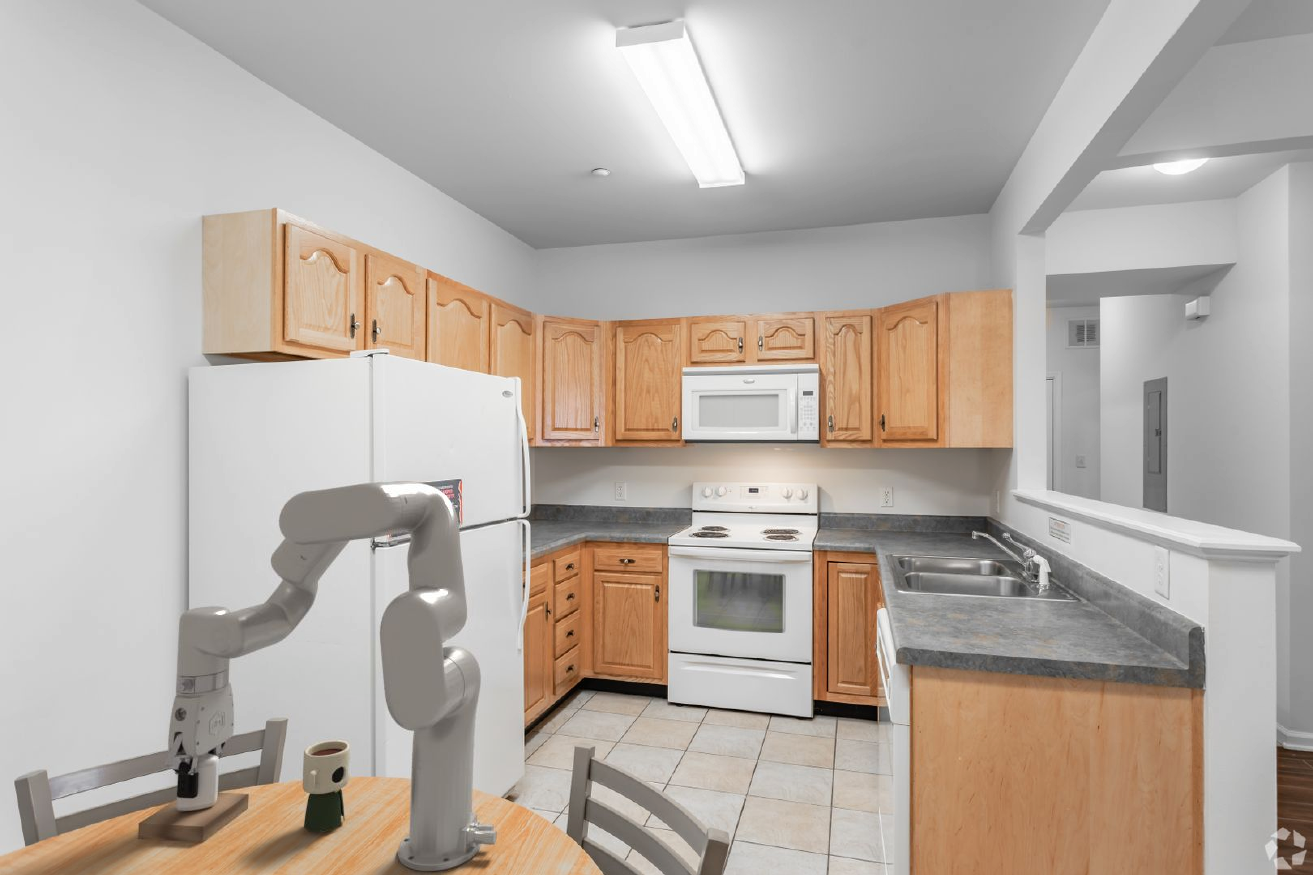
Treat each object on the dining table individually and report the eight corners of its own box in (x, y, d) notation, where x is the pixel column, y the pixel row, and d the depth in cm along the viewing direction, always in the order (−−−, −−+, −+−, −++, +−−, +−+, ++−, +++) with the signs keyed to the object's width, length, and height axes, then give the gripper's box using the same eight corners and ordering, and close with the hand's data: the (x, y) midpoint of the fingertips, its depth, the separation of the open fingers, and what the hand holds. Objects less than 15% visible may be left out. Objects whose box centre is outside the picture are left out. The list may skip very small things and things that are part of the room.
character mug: (329, 844, 109) (333, 762, 109) (285, 843, 109) (289, 761, 109) (359, 810, 120) (362, 735, 120) (319, 809, 120) (322, 735, 120)
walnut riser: (248, 808, 120) (248, 793, 120) (202, 842, 109) (203, 826, 109) (188, 805, 120) (189, 790, 120) (137, 838, 109) (138, 823, 109)
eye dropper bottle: (202, 813, 112) (205, 740, 113) (171, 811, 113) (175, 737, 113) (222, 800, 116) (225, 730, 117) (192, 798, 117) (195, 728, 118)
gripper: (187, 698, 107) (181, 816, 106) (255, 667, 124) (251, 769, 123) (142, 696, 107) (136, 814, 107) (216, 666, 124) (212, 767, 123)
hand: (198, 789), depth 115 cm, fingers closed on eye dropper bottle, 4 cm apart
